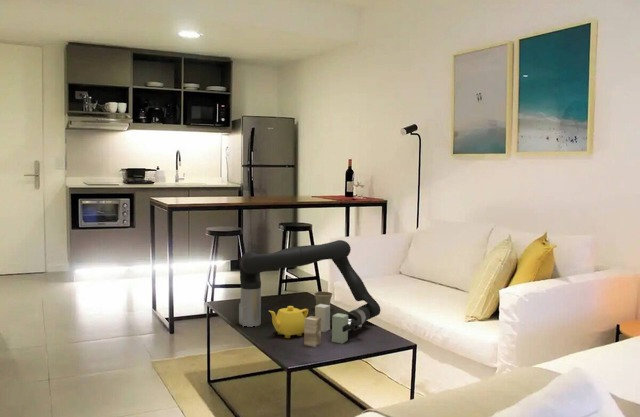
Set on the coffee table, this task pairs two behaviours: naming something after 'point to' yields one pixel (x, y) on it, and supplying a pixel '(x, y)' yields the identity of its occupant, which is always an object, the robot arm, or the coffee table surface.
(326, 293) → the flower pot
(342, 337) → the sage pillar
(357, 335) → the coffee table surface
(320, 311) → the offwhite pillar
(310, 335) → the birch pillar
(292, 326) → the teapot
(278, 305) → the coffee table surface
